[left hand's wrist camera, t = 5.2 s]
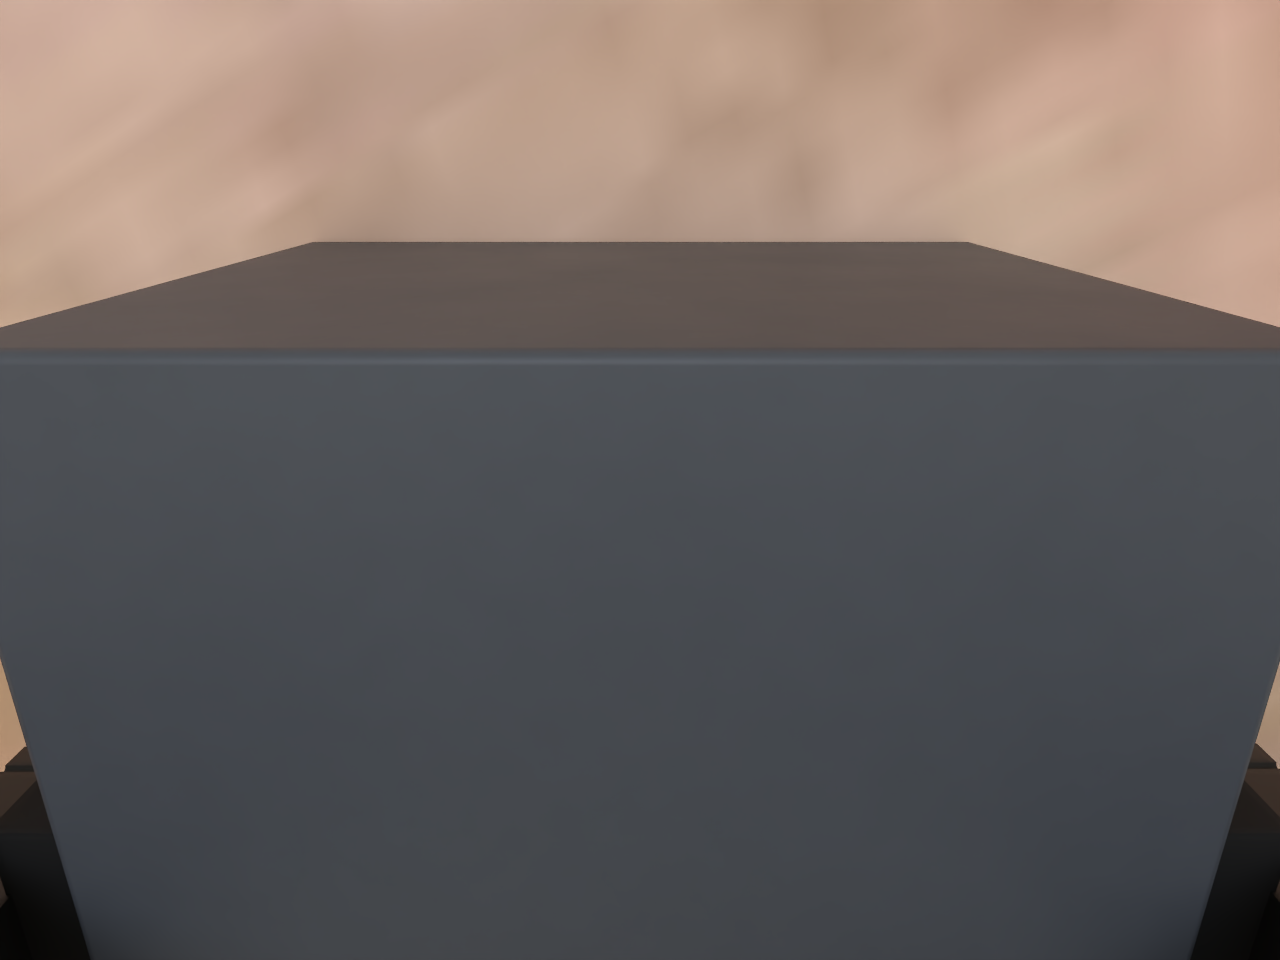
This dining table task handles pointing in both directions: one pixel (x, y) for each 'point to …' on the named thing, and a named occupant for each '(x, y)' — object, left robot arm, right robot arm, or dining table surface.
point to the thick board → (640, 603)
